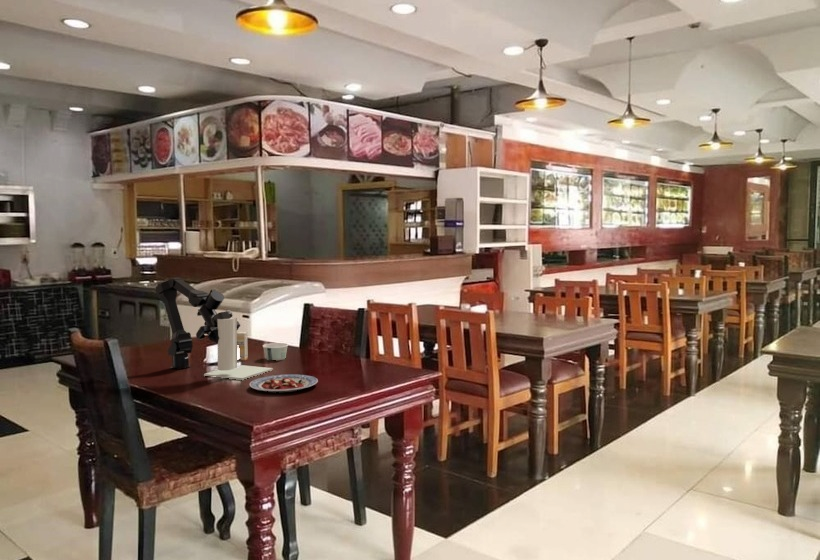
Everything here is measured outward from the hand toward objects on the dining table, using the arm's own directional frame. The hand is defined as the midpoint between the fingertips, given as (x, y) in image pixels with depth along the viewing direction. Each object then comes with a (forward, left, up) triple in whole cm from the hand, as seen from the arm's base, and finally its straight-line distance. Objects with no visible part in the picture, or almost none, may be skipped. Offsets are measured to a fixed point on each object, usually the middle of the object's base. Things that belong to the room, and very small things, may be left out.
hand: (228, 345), depth 254 cm
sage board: (-1, +8, -13) cm, 15 cm away
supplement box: (-21, +31, -13) cm, 40 cm away
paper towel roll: (-1, 0, -10) cm, 10 cm away
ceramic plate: (+31, -4, -14) cm, 34 cm away
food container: (-6, +40, -14) cm, 42 cm away
